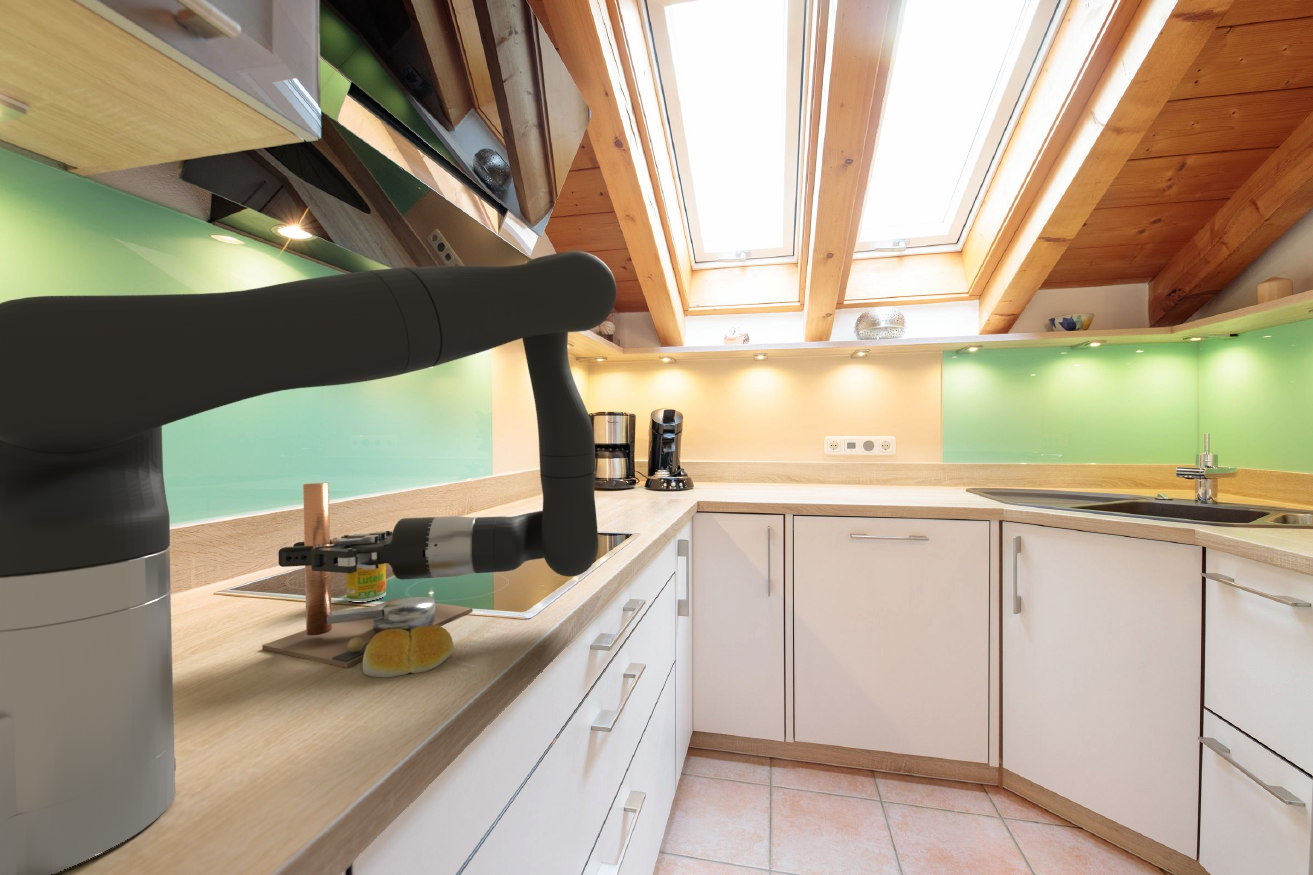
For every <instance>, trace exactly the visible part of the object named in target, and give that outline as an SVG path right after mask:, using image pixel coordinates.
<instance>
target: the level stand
mask: <svg viewBox="0 0 1313 875" xmlns="http://www.w3.org/2000/svg"><path fill="white" fill-rule="evenodd" d="M401 599H404V598H402V597H396V598H393V599H391V600H386V601H384V602H382V603H381V602H380V603H378V604H376V605H375V606H382V605H384V606H385V605H387V604H388V603H391V602H393V601H397V600H401ZM470 612H471V613H473V608H472V607H468V606H459V605H453V604H452V605H451V604H445V603H438V602H435V621H434V622H433V623H432V624H430V625H428V626H432V625H437V626H440V627H443V626H444V625H446V624H448V623H451V622H453V621H455V620H457V619H459V618H461V617H464V616H466V615H468V614H470ZM408 632H409V631H408ZM376 634H377V632H375V631H373V619H367V620H359V621H351V622H343V623H335V624H332V630H331V631H329V632H327V633H324V634H320V635H307V634H306V629H304V630H302V631H299V632H296V633H293V634H290V635H288V636H287V635H286V636H285V637H282V638H279V639H275V640H273V641H271V642H268V643H264V644H261V648H262V650H264V651H268V652H273V653H277V654H282V655H286V656H291V657H295V658H300V659H305V660H310V661H314V662H318V663H322V664H328V665H332V666H337V667H341V668H344V669H345V668H346V669H348V668H350V667H353V666H355V665H356V664H357V665H358V664H360V663H361V662H362V663H363V657H364V652H365V649H366V646H367V645H368V644H369V642H370V641H371V639H372V638H373V637H374V636H375V635H376Z"/></svg>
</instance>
